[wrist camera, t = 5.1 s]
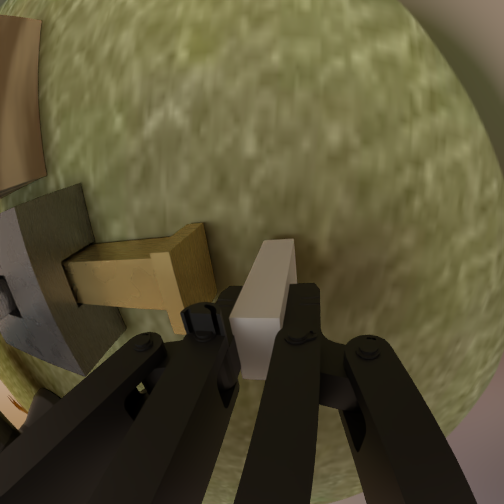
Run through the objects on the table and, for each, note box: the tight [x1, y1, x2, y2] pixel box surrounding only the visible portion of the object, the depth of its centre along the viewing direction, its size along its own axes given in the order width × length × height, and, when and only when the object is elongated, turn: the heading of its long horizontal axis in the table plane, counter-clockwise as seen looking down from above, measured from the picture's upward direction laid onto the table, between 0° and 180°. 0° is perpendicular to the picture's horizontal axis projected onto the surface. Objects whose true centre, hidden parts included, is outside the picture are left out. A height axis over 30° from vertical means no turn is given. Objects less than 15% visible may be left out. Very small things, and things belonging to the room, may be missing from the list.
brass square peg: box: [61, 223, 217, 335], centre depth 15 cm, size 10×4×4 cm, turn 98°
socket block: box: [0, 183, 126, 377], centre depth 17 cm, size 14×12×6 cm
